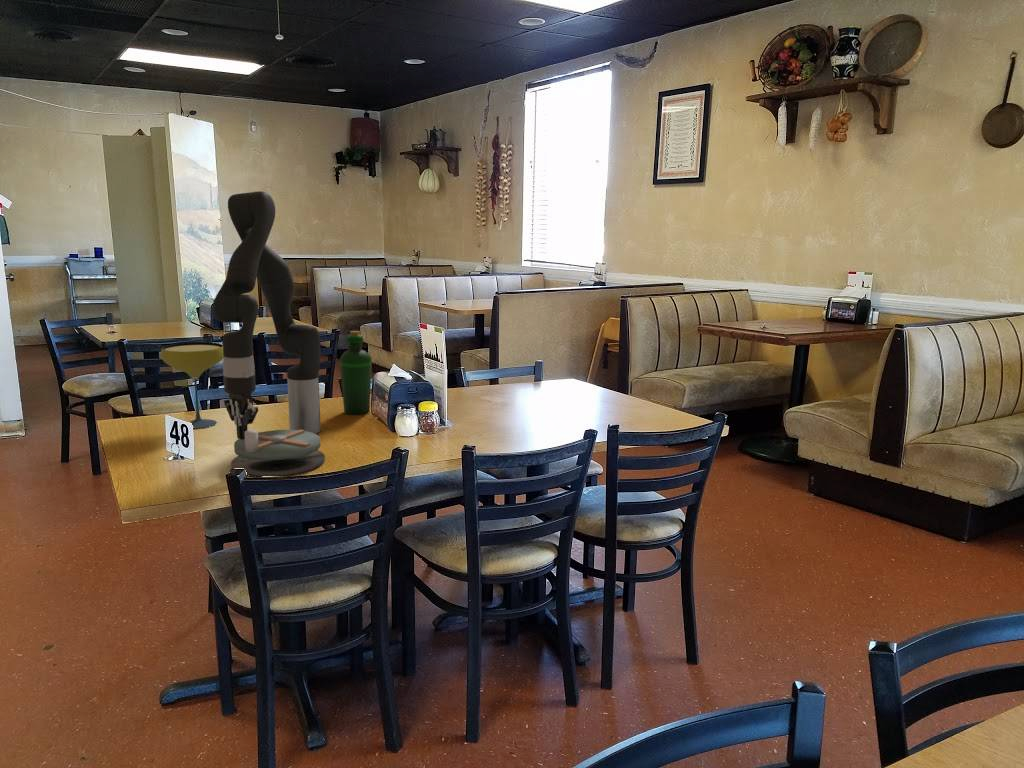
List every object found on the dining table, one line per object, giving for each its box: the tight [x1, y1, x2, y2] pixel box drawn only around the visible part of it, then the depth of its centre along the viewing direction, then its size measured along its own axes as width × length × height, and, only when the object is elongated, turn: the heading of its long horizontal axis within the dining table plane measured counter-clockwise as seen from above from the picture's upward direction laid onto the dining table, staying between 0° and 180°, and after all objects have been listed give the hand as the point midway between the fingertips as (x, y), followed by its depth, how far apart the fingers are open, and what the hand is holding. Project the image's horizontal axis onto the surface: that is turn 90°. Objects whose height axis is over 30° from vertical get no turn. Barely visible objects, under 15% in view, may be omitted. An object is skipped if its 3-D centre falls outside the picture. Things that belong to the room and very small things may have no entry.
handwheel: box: [233, 429, 321, 460], centre depth 196 cm, size 22×22×7 cm
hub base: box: [230, 449, 326, 478], centre depth 197 cm, size 24×24×4 cm
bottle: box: [339, 330, 372, 416], centre depth 249 cm, size 11×11×28 cm
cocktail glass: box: [160, 341, 223, 430], centre depth 230 cm, size 18×18×25 cm
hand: (242, 438), depth 189 cm, fingers closed
